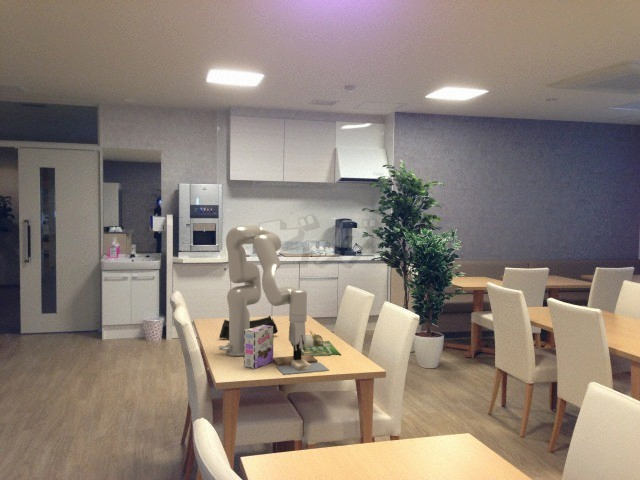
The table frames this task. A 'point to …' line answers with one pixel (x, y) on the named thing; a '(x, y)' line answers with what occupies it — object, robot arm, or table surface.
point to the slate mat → (291, 370)
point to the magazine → (253, 324)
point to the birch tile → (301, 365)
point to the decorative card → (318, 346)
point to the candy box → (258, 346)
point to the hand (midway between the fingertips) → (297, 359)
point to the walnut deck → (287, 360)
